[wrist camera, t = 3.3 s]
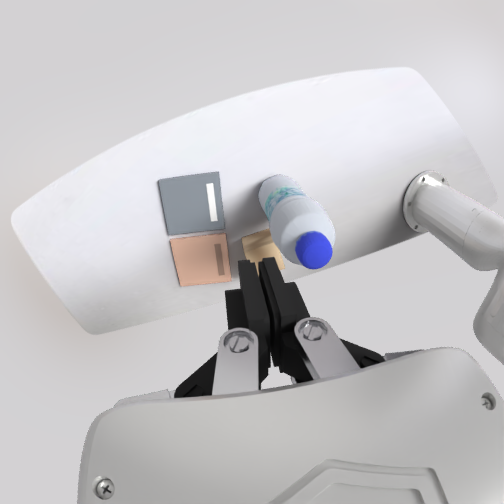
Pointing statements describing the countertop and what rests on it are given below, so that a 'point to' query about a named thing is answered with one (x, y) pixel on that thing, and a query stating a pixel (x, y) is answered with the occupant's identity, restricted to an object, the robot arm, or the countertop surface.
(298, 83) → the countertop surface
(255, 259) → the oak block
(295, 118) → the countertop surface
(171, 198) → the slate mat
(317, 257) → the bottle
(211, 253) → the terracotta tile
